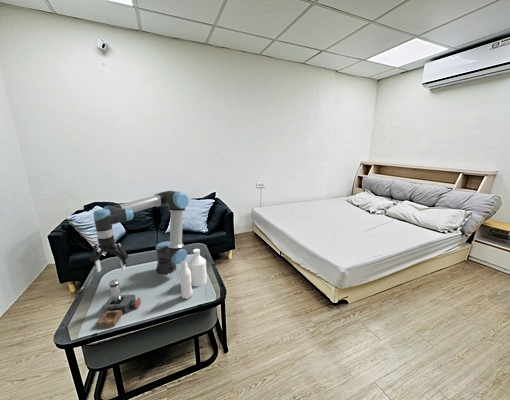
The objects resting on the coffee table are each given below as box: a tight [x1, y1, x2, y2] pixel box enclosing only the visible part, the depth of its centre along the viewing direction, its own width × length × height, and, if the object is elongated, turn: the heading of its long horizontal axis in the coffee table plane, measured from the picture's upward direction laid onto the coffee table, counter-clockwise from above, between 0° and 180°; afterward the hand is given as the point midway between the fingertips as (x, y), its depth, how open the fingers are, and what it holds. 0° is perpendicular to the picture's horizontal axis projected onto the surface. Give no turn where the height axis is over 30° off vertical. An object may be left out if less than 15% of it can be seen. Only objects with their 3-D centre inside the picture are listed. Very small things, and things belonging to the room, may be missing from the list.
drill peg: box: [108, 278, 122, 304], centre depth 130 cm, size 5×5×18 cm
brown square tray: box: [96, 310, 124, 328], centre depth 121 cm, size 9×9×3 cm
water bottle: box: [178, 260, 194, 300], centre depth 138 cm, size 7×7×25 cm
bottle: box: [188, 248, 208, 287], centre depth 154 cm, size 12×12×25 cm
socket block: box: [101, 294, 137, 315], centre depth 131 cm, size 14×10×5 cm
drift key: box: [130, 297, 142, 309], centre depth 132 cm, size 8×4×4 cm, turn 95°
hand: (111, 270), depth 126 cm, fingers open, 13 cm apart
